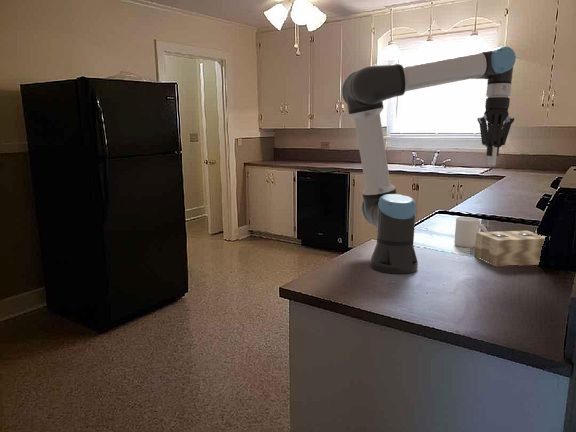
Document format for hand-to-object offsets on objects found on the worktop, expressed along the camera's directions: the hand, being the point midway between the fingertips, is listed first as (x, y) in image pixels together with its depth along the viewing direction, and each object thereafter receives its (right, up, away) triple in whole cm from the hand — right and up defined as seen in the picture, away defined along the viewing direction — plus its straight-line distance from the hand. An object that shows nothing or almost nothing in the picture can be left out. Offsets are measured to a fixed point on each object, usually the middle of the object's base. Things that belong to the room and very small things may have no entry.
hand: (491, 165), depth 155 cm
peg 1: (0, -34, -4) cm, 34 cm away
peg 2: (+10, -33, -2) cm, 35 cm away
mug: (-1, -30, +16) cm, 34 cm away
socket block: (+5, -34, -3) cm, 34 cm away
